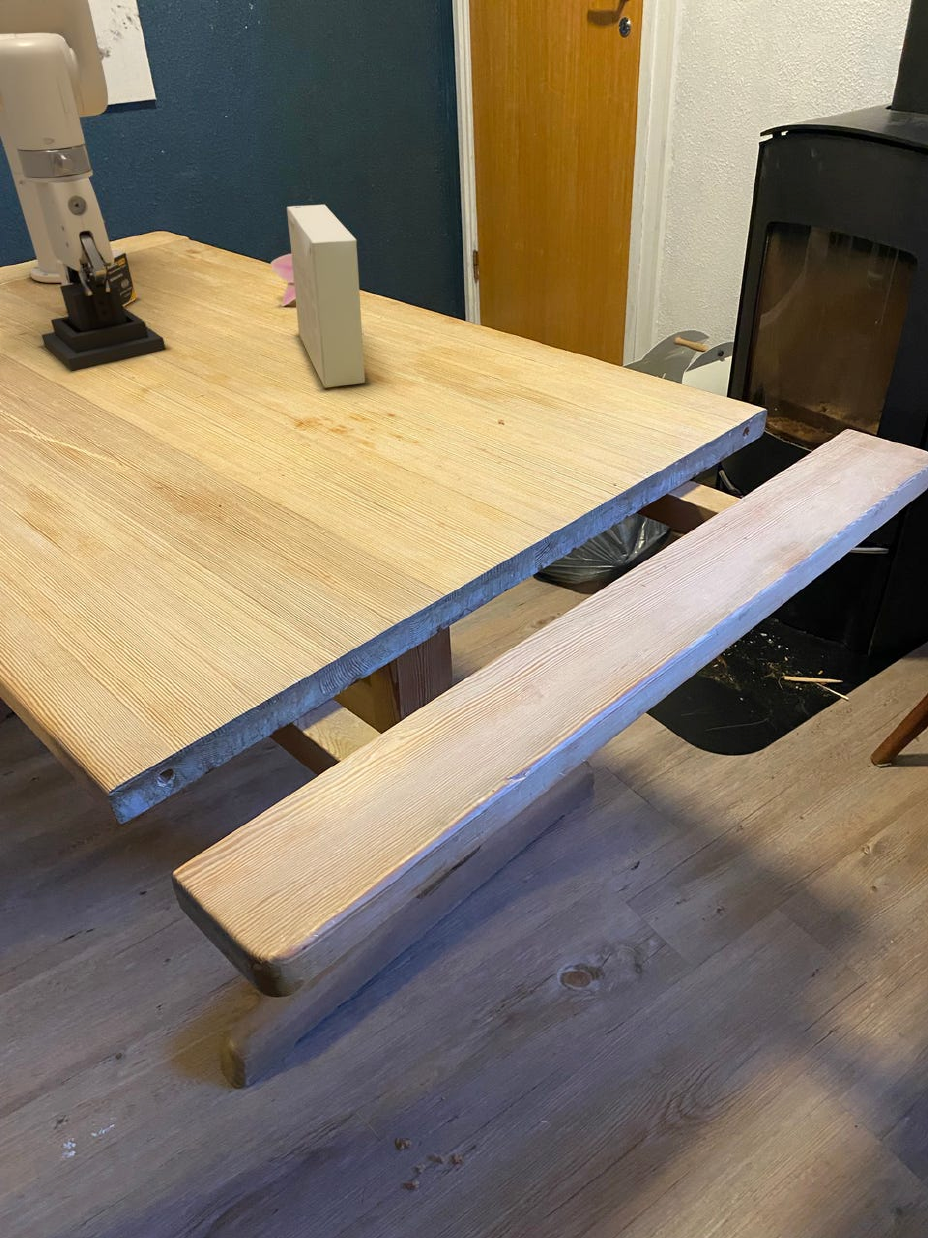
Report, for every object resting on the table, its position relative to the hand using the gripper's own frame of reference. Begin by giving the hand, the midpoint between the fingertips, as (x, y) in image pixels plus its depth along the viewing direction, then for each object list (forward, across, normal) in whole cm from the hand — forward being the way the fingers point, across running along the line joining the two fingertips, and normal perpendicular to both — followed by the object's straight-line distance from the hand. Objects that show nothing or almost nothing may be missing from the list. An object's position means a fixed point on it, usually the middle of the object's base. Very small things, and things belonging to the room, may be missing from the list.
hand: (96, 318), depth 115 cm
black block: (+1, 0, 0) cm, 1 cm away
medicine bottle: (+4, +19, -6) cm, 20 cm away
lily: (+4, -1, -30) cm, 30 cm away
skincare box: (+4, -23, -21) cm, 31 cm away
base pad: (+4, 0, 0) cm, 4 cm away
